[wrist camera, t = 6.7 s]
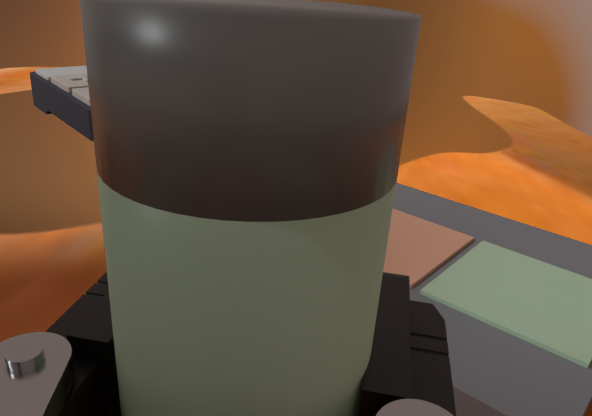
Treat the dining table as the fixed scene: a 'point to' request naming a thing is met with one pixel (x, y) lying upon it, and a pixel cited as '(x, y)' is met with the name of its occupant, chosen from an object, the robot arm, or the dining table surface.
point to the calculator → (64, 96)
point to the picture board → (499, 304)
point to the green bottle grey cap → (245, 196)
